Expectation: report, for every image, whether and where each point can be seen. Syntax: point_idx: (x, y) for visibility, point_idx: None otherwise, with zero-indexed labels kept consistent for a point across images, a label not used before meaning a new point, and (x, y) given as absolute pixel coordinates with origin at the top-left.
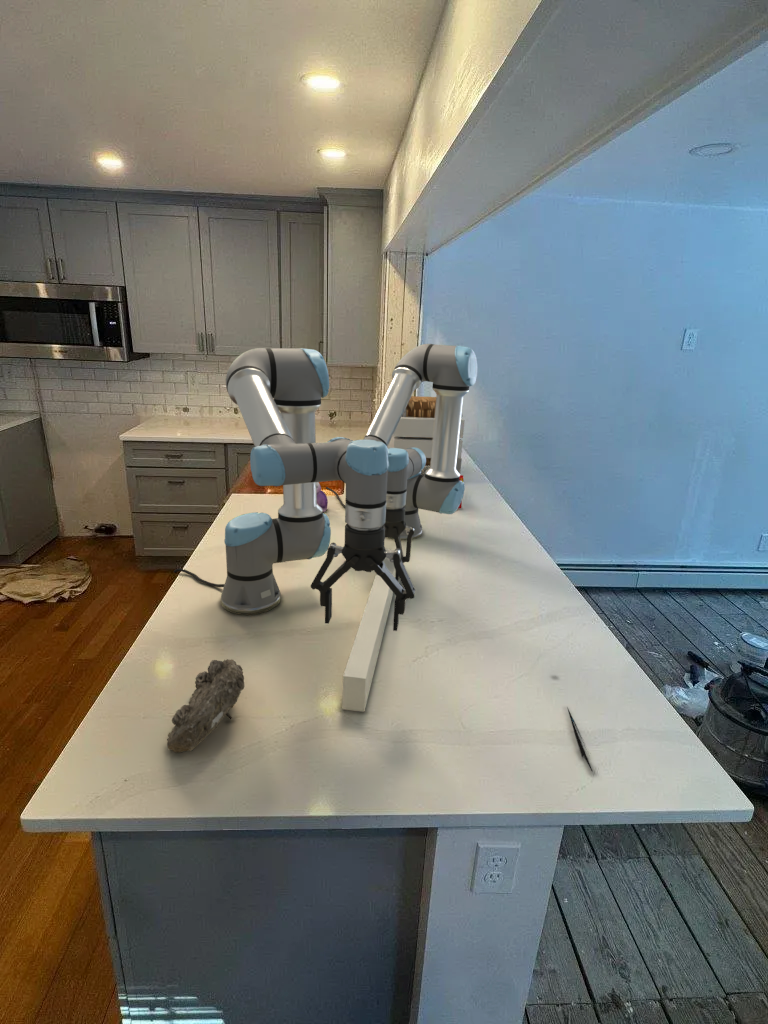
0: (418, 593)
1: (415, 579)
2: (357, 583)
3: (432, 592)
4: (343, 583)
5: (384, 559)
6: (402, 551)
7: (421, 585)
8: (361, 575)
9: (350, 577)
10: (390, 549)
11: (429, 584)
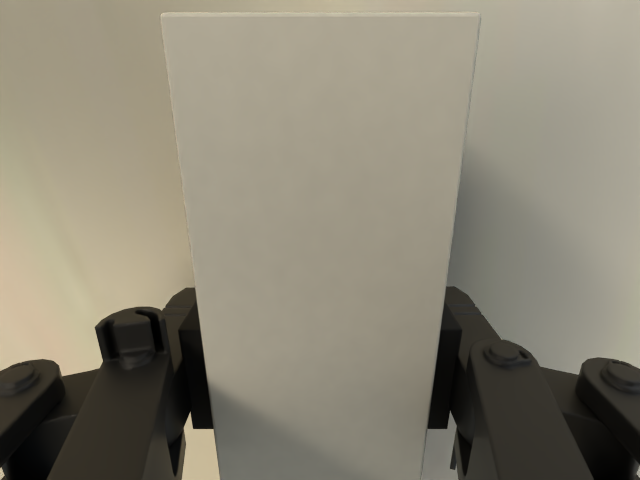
0: (531, 345)
1: (535, 144)
2: (113, 296)
3: (628, 317)
4: (24, 314)
5: (261, 439)
6: (582, 470)
7: (569, 236)
8: (92, 167)
9: (27, 219)
10: (293, 43)
11: (635, 208)
